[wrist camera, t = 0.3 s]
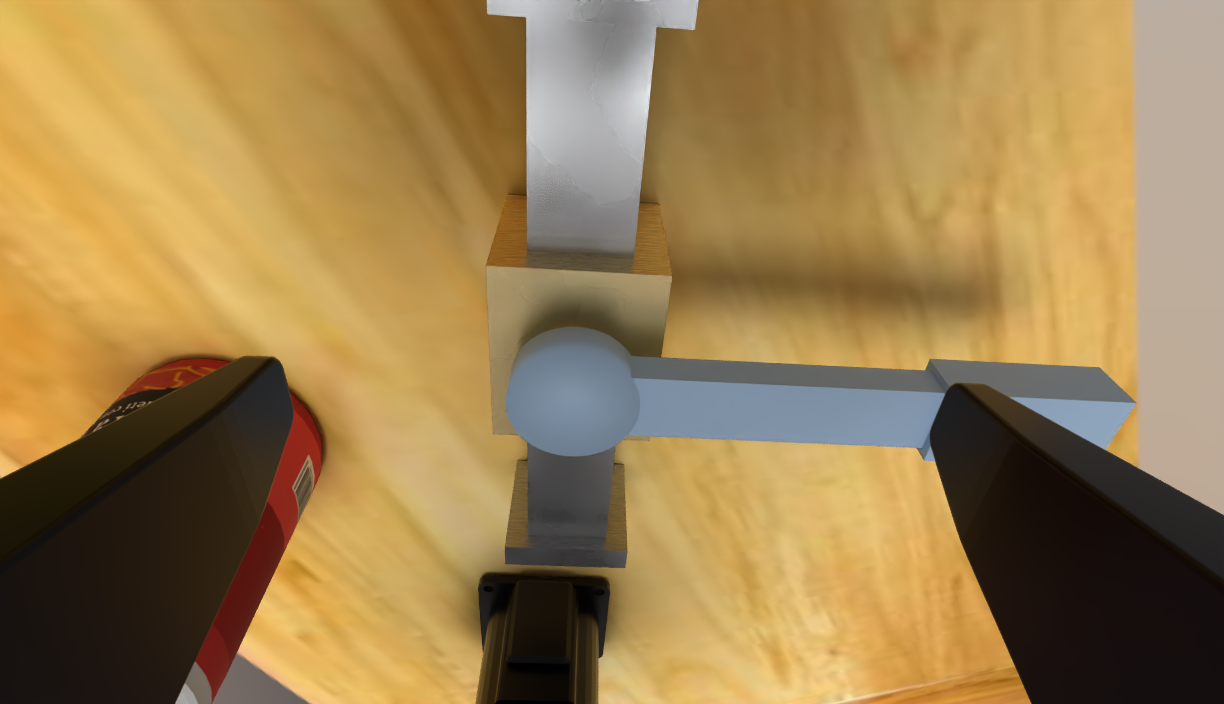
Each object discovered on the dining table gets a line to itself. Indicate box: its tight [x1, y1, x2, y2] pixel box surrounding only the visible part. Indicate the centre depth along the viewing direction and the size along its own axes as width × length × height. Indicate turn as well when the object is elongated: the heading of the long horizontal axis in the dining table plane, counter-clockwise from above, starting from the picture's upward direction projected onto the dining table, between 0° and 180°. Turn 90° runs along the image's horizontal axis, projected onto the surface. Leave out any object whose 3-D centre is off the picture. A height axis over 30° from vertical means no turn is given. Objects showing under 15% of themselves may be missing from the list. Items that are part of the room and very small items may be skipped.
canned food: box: [81, 359, 322, 704], centre depth 23 cm, size 8×8×11 cm
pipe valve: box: [486, 0, 698, 568], centre depth 22 cm, size 20×5×5 cm, turn 176°
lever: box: [505, 327, 1136, 461], centre depth 19 cm, size 4×17×2 cm, turn 86°
